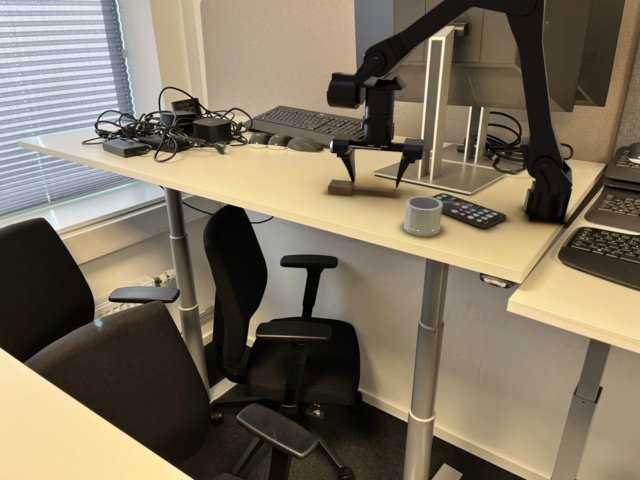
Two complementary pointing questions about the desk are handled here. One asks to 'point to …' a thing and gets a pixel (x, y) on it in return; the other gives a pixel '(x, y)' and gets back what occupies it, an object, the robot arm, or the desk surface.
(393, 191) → the brown block with handle
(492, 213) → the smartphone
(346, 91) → the robot arm
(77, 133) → the desk surface
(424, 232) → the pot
